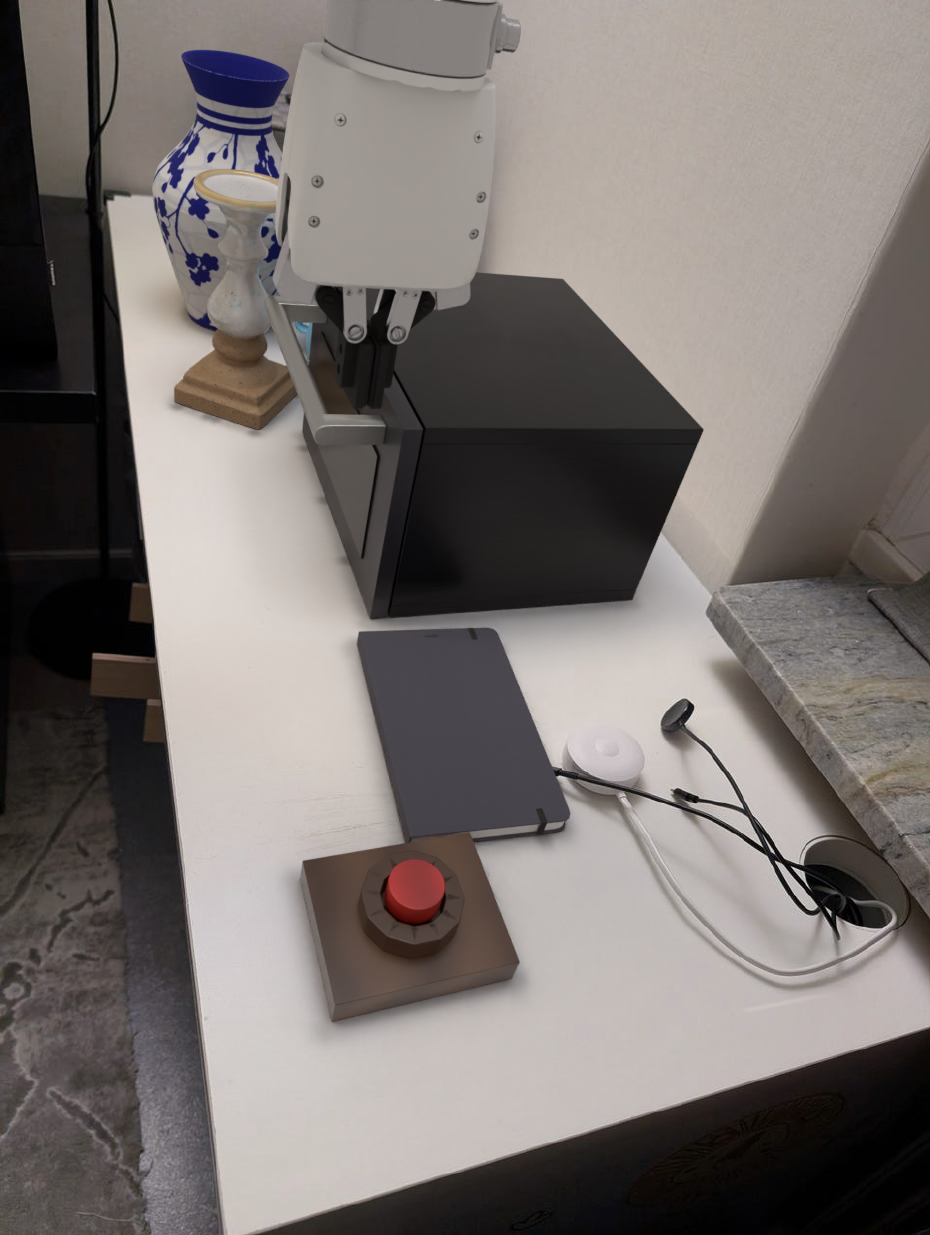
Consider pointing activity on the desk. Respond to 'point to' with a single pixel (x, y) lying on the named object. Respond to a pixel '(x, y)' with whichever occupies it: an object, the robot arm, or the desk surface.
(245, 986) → the desk surface
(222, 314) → the candle holder
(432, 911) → the button
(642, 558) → the oven
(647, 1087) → the desk surface
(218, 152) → the vase
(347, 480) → the oven door
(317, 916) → the control block
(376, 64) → the robot arm
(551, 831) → the notebook
